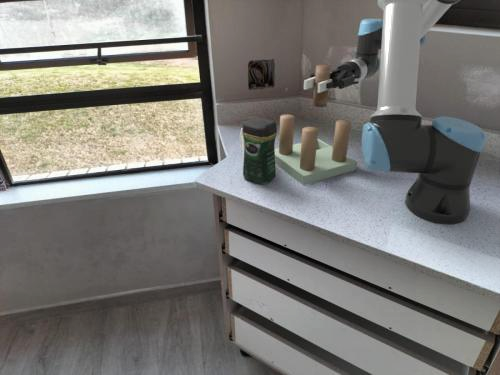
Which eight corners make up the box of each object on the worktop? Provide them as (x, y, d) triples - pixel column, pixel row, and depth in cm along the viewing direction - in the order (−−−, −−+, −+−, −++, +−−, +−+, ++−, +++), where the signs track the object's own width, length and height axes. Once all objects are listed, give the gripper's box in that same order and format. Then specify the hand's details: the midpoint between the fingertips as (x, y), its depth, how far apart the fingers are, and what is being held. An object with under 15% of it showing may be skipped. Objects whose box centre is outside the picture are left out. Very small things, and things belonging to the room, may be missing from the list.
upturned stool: (356, 169, 115) (363, 124, 107) (302, 185, 107) (306, 137, 99) (317, 146, 130) (321, 105, 122) (268, 158, 122) (269, 115, 114)
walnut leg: (329, 105, 116) (333, 66, 110) (318, 108, 114) (321, 68, 108) (321, 102, 119) (324, 64, 113) (310, 104, 118) (313, 65, 112)
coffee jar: (279, 177, 111) (282, 118, 102) (264, 187, 106) (265, 126, 96) (254, 168, 116) (254, 111, 107) (238, 178, 111) (237, 119, 101)
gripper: (373, 88, 121) (335, 104, 107) (327, 79, 132) (288, 93, 117) (377, 64, 118) (338, 78, 103) (330, 57, 128) (289, 69, 113)
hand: (311, 86), depth 110 cm, fingers closed on walnut leg, 4 cm apart
